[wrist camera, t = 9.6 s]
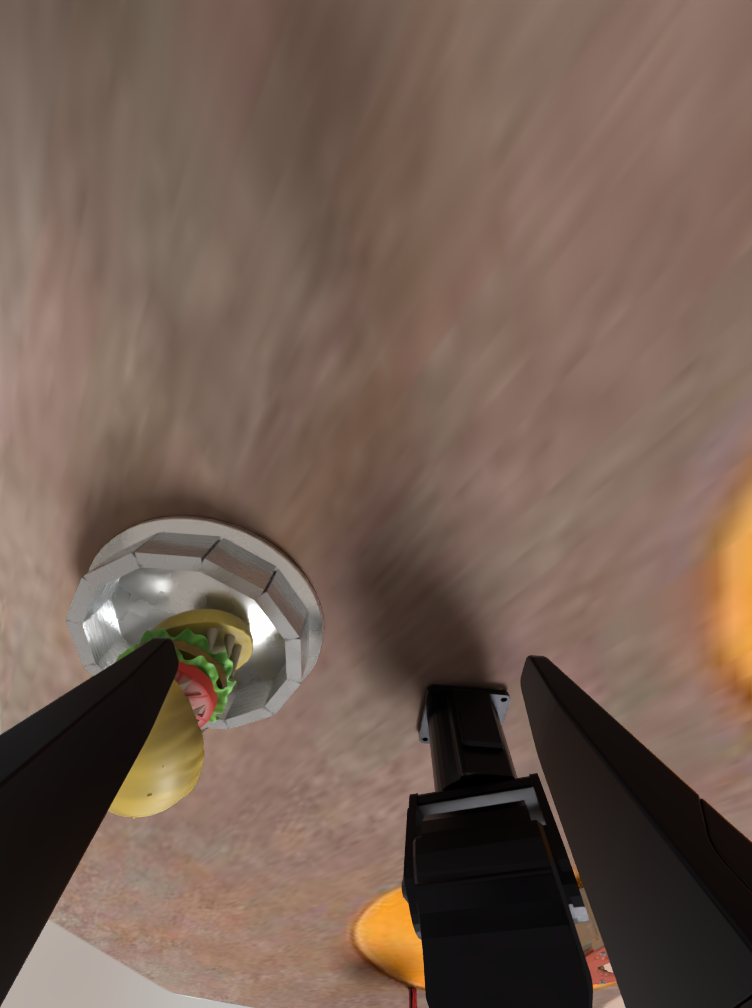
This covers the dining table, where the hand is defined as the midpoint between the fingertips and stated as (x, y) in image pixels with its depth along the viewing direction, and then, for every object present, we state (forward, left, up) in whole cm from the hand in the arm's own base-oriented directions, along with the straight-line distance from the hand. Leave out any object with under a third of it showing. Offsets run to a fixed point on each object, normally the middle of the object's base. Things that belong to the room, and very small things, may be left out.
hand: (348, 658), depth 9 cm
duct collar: (-12, +11, -13) cm, 21 cm away
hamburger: (-12, +11, -13) cm, 20 cm away
